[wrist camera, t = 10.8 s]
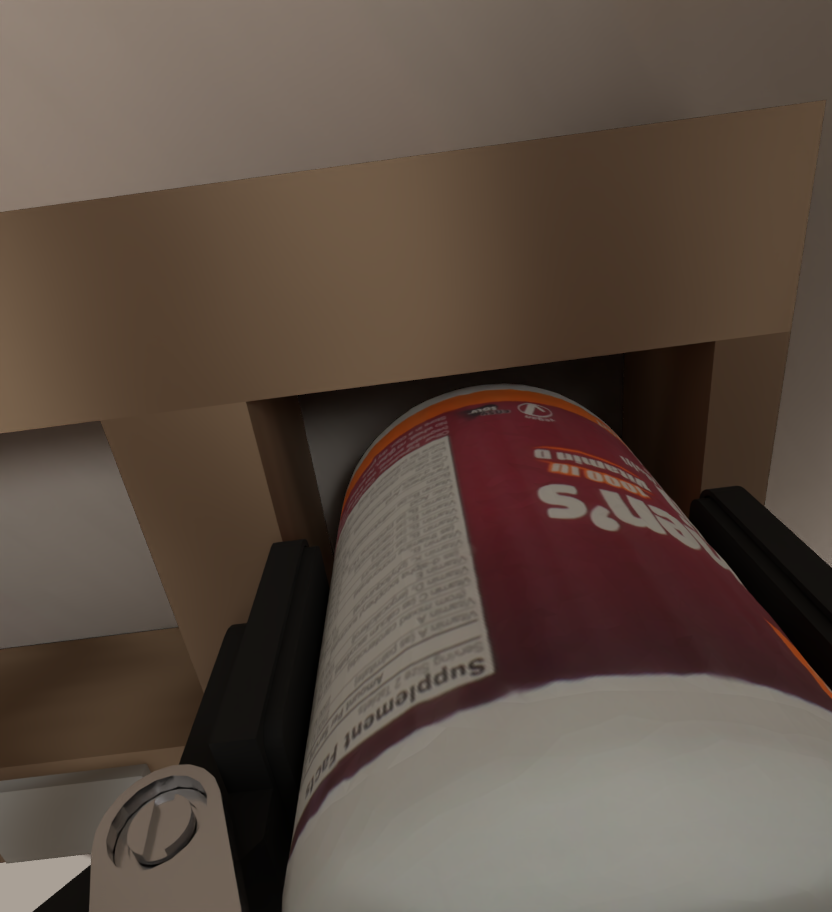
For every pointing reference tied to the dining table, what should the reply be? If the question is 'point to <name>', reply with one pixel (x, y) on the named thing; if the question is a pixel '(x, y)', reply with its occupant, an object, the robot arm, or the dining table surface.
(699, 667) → the pill bottle
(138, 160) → the dining table surface
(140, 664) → the socket board
